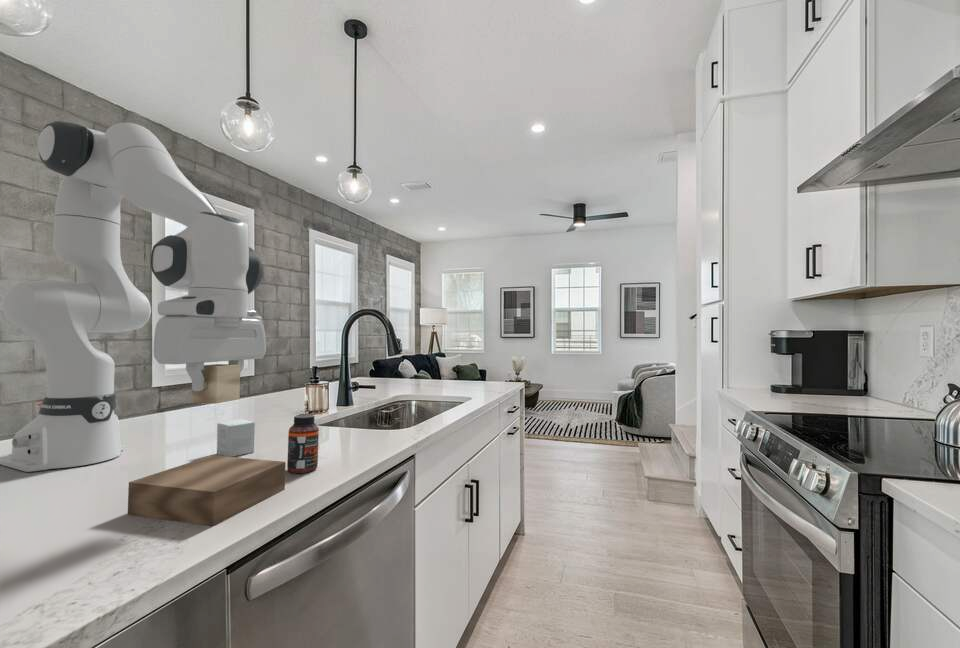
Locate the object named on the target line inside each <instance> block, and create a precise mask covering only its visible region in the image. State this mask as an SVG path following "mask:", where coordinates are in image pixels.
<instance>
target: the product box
mask: <svg viewBox="0 0 960 648" xmlns="http://www.w3.org/2000/svg"><path fill="white" fill-rule="evenodd" d="M255 424H256V422H255V421H250V420H247V419H243V418H241V419H239V418H238V419H234V420H229V421H221V422H218V423H217V424H216V425H217V426H216V433H217V434H216V454H217V455H219V456H227V457H238V456H242V455H247V454H253V453H255V427H256V426H255Z"/></svg>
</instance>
